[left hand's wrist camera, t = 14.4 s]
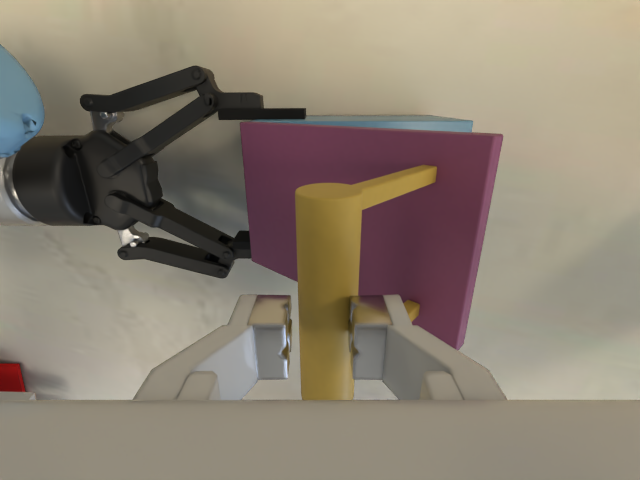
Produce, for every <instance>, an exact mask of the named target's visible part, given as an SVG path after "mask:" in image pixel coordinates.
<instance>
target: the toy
mask: <svg viewBox="0 0 640 480" xmlns="http://www.w3.org/2000/svg"><path fill="white" fill-rule="evenodd" d="M0 400H36V397H35V392H26V391H25V387H24V383H23V378H22V374H21V369H20V365H19V364H0Z"/></svg>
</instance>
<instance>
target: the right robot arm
mask: <svg viewBox="0 0 640 480" xmlns="http://www.w3.org/2000/svg"><path fill="white" fill-rule="evenodd" d="M194 90H197V91H198V93H199V95H200V97H198V98H197V99H195V100H194V101H192V102H191V103H190V104H188V105H187V106H185V107H184V108H182V109H181V110H179V111H178V112H177V113H175V114H174V115H172V116H171V117H169V118H168V119H166V120H165V121H164V122H162V123H161V124H159V125H158V126H156V127H155V128H153V129H152V130H151V131H149V132H148V133H146V134H145V135H143V136H142V137H140V138H138V139H136V140H134V141H132V142H130V141H129V140H127V139H126V138H124V137H122V136H121V135H119V134H118V133H116V132H115V131H113V130H112V127H113V125H114V123H116V122H120V121H121V120H122V119H123V117H124V113H123V112H129V111H135V110H139V109H142V108H145V107H147V106H150V105H153V104H156V103H159V102H162V101H165V100H168V99H171V98H174V97H177V96H180V95H182V94H185V93H188V92H191V91H194ZM80 104H81V106H82V107H83V108H84V109H85V110H86V111H90V114H91V119H92V125H93V130H94V131H91V132H90V133H89V134H87V135H85V136H37V137H34V136H35V135H36V134H37V133H38V132H39V131H40V129H41V127H42V125H43V123H44V116H45V113H44V106H43V103H42V99H41V96H40V93H39V91H38V89H37V87H36V86H35V84H34V82H33V81H32V79H31V78H30V76H29V75H28V74H27V72H26V71H25V70H24V68H23V67H22V66H21V65H20V64H19V63H18V61H17V60H16V59H15V58H14V57H13V56H12V55H11V54H10V53H9V52H8V51H7V50H6V49H5V48H4V47H3V46H2V45H1V44H0V225H7V226H45V225H53V226H91V225H105V226H108V227H110V228H112V229H115V230H118V233H119V237H120V240H121V243H122V247H121V248H120V249H119V250H118V252H117V253H118V256H119V257H120V258H121V259H123V260H136V259H147V260H150V261H154V262H158V263H162V264H166V265H170V266H174V267H178V268H182V269H186V270H190V271H194V272H198V273H202V274H206V275H210V276H214V277H218V278H225V277H227V275H228V274H229V272H230V270H231V268H232V266H233V264H234V260H235V259H238V258H252V256H251V245H250V233H249V231H239V232H238V233H237V235H236V237H235V238H233V237H231V236H229V235H227V234H225V233H223V232H221V231H219V230H217V229H215V228H213V227H211V226H209V225H207V224H205V223H203V222H201V221H200V220H198V219H196V218H194V217H192V216H190V215H188V214H186V213H184V212H182V211H180V210H178V209H176V208H175V207H174V205H173V204H171V203H169V202H168V201H166V200H164V199H162V198H161V197H162V196H163V194H162V188H161V186H160V184H159V181H158V166H157V161H154V160H153V159H152V156H153V155H155V154H156V153H158V152H159V151H161V150H162V149H164V147H165V146H167V145H168V144H170V143H171V142H173V141H174V140H176V139H177V138H179V137H180V136H182V135H183V134H185V133H186V132H188V131H189V130H191V129H192V128H193V127H195V126H196V125H198V124H199V123H201V122H202V121H204V120H205V119H207V118H208V117H210V116H211V115H213V114H214V113H216V112H217V111H218V116H219V120H257V119H305V118H306V108H266V109H264V105H263V96H262V95H260V94H258V93H224V92H222V91H220V89H219V88H218V87H217V85H216V82H215V80H214V74H213V72H212V71H211V70H209V69H206V68H203V67H199V66H192V67H189V68H186V69H183V70H180V71H177V72H175V73H172V74H169V75H166V76H163V77H160V78H158V79H155V80H152V81H149V82H146V83H143V84H141V85H138V86H135V87H132V88H129V89H126V90H123V91H121V92H118V93H115V94H112V95H95V94H84V95H82V96H81V98H80ZM138 221H140V222H142V223H144V224H146V225H148V226H150V227H158V228H161V229H163V230H165V231H167V232H169V233H171V234H173V235H175V236H177V237H179V238H181V239H183V240H185V241H187V242H189V243H191V244H193V245H195V246H197V247H194V246H190V245H186V244H182V243H178V242H175V241H171V240H167V239H163V238H158V237H149V234H148V233H146V232H144V233H143V232H139V231H137V230H136V229H135V228H134V226H133V225H134V224H136V223H137V222H138ZM198 247H199V248H198Z"/></svg>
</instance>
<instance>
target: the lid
mask: <svg viewBox="0 0 640 480" xmlns="http://www.w3.org/2000/svg"><path fill="white" fill-rule="evenodd" d="M240 130H241V141H242V153H243V164H244V176H245V187H246V199H247V210H248V222H249V233H250V245H251V256H252V261H253V262H255V263H258V264H260V265H262V266H264V267H266V268H269V269H271V270H273V271H275V272H277V273H279V274H282V275H284V276H286V277H288V278H290V279H292V280H295V281H297V282H298V304H299V336H300V367H301V395H302V399H303V400H353V396H354V379H353V378H352V371H351V363H350V359H351V353H350V352H349V345H348V320H349V319H350V315H349V296H360V295H395V294H398V295H400V297H401V299H402V302H403V304H404V306H405V309H406V311H407V313H408V316H409V318H410V320H411V323H412V325H418V326H419V327H421V328H422V329H424V330H426V331H427V332H429V333H430V334H432V335H434V336H435V337H437V338H438V339H440V340H442V341H443V342H445V343H446V344H448V345H450V346H451V347H453V348H454V349H456V350H457V351H458V350H459V349H460V347H461V346H462V345H463V343H464V339H465V333H466V328H467V323H468V318H469V313H470V307H471V302H472V297H473V292H474V286H475V281H476V276H477V271H478V266H479V260H480V255H481V250H482V245H483V240H484V234H485V229H486V224H487V219H488V214H489V208H490V203H491V198H492V193H493V187H494V182H495V177H496V172H497V167H498V161H499V156H500V151H501V146H502V141H503V135H502V134H492V133H472V132H452V131H432V130H412V129H392V128H372V127H352V126H332V125H312V124H292V123H272V122H241V123H240Z"/></svg>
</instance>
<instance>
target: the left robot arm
mask: <svg viewBox="0 0 640 480" xmlns="http://www.w3.org/2000/svg"><path fill="white" fill-rule="evenodd" d="M290 315H291V296H290V295H241V296H240V297H239V299H238V301H237V304H236V306H235V308H234V311H233V313H232V315H231V318H230V320H229V323H228V325H222V326H221V327H219V328H218V329H216V330H214V331H213V332H211V333H210V334H208V335H206V336H205V337H203V338H202V339H200V340H198V341H197V342H195V343H194V344H192V345H190V346H189V347H187V348H186V349H184V350H182V351H181V352H179V353H178V354H176V355H174V356H173V357H171V358H170V359H168V360H166V361H165V362H163V363H162V364H160V365H158V366H157V367H155V368H154V369H152V370H151V372H150V373H149V375H148V376H147V378H146V379H145V381H144V383H143V384H142V386H141V387H140V389H139V390H138V392H137V393H136V395H135V397H134V398H133V400H0V480H640V400H507V398H506V397H505V395H504V393H503V392H502V390H501V389H500V387H499V386H498V384H497V382H496V381H495V379H494V378H493V376H492V374H491V373H490V371H489V370H488V369H486V368H485V367H483V366H481V365H480V364H478V363H477V362H475V361H473V360H472V359H470V358H469V357H467V356H465V355H464V354H462V353H461V352H459V351H457V350H456V349H454V348H453V347H451V346H450V345H448V344H446V343H445V342H443V341H442V340H440V339H438V338H437V337H435V336H434V335H432V334H430V333H429V332H427V331H426V330H424V329H422V328H421V327H419V326H418V325H412V323H411V320H410V318H409V316H408V313H407V311H406V309H405V306H404V304H403V302H402V299H401V297H400V295H398V294H395V295H360V296H349V315H350V319H349V320H348V345H349V352H350V353H351V359H350V363H351V371H352V378H353V379H367V380H383V382H384V383H385V385H386V386H387V387H388V388H389V389H390V390H391V391H392V392H393V393H394V395H395V396H396V397H397V398H398V399H399V400H241V399H242V398H243V397H244V396H245V395H246V394H247V393H248V391H249V390H250V389H251V388H252V387H253V386H254V385H255V384H256V383H257V380H273V379H288V371H289V363H290V360H289V353H290V352H291V345H292V320H291V319H290Z"/></svg>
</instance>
